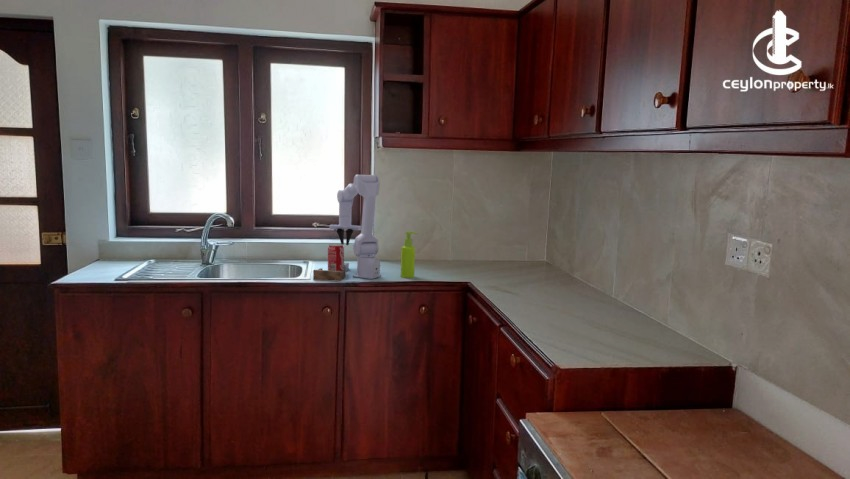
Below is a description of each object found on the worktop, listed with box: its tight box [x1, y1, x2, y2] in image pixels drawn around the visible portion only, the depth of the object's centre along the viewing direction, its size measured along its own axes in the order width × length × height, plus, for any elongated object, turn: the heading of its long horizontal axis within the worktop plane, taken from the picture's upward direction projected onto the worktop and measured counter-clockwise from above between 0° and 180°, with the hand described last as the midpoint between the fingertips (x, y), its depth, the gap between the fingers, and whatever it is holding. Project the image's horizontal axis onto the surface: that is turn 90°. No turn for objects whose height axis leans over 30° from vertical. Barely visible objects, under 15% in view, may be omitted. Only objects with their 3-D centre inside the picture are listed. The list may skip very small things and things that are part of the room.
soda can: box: [327, 243, 345, 271], centre depth 260 cm, size 7×7×13 cm
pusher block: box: [344, 262, 350, 272], centre depth 269 cm, size 7×6×3 cm
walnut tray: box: [312, 267, 347, 282], centre depth 250 cm, size 11×10×4 cm
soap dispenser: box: [400, 230, 419, 279], centre depth 257 cm, size 6×7×20 cm
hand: (344, 244), depth 276 cm, fingers closed
